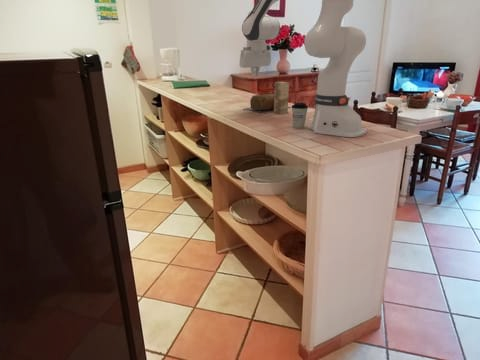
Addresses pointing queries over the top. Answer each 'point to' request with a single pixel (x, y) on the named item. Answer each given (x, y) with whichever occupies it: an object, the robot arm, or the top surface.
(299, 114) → the coffee cup
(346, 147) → the top surface
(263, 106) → the block
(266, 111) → the grey rubber mat
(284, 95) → the oak post
